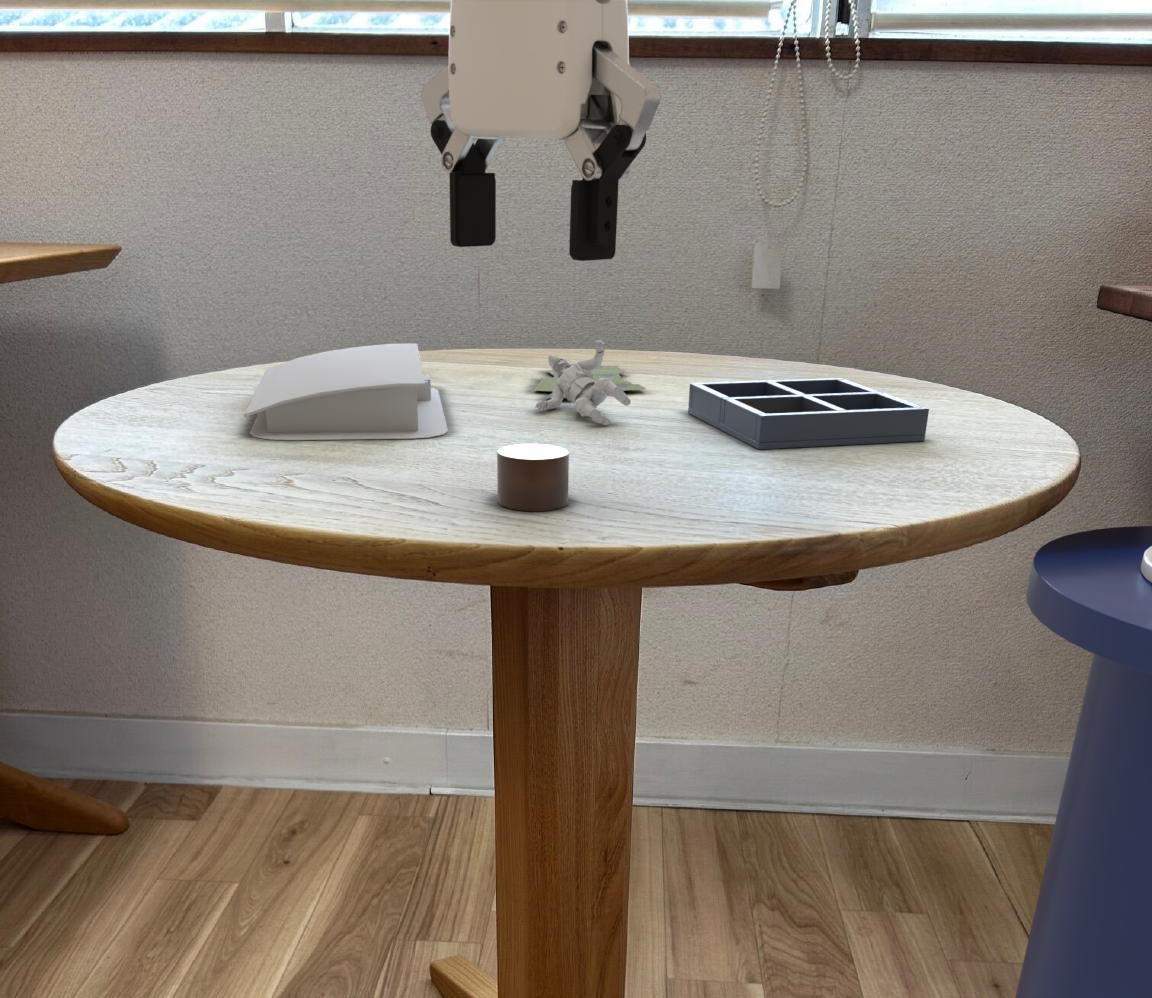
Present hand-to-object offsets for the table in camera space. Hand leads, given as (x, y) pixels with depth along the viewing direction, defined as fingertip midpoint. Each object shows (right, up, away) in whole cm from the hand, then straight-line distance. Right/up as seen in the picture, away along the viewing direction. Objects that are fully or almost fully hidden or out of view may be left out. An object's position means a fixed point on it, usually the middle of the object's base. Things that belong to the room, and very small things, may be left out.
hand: (530, 252), depth 71 cm
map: (+4, +7, +45) cm, 46 cm away
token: (0, -13, +7) cm, 15 cm away
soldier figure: (+3, 0, +33) cm, 33 cm away
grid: (+21, -2, +30) cm, 37 cm away
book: (-16, 0, +32) cm, 36 cm away
